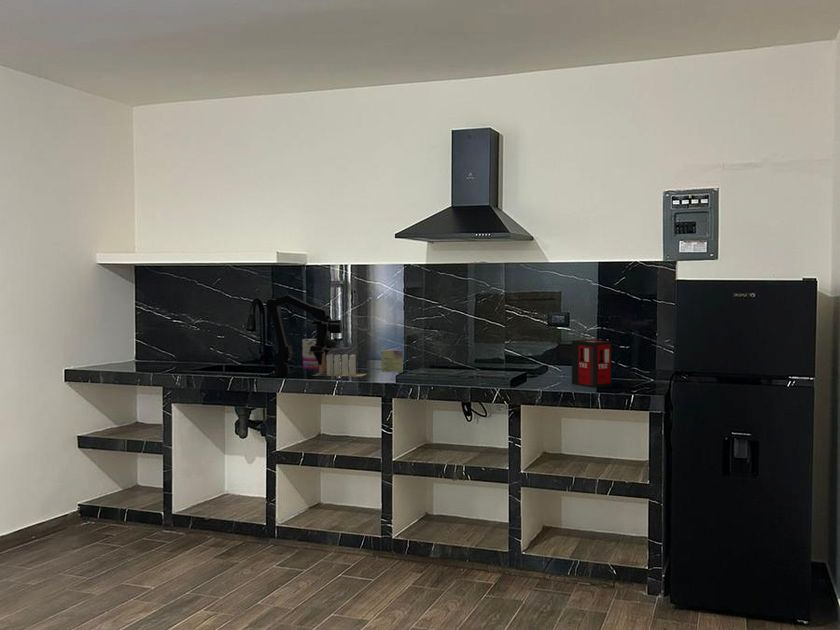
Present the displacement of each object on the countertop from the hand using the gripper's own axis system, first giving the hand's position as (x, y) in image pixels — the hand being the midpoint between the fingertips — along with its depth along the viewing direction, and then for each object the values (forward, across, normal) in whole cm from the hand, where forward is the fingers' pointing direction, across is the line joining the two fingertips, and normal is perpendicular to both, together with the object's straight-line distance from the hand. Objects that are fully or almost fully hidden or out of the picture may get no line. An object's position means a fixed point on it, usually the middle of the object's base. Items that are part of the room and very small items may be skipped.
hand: (322, 364), depth 414 cm
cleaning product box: (+6, -13, -133) cm, 134 cm away
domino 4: (+5, 0, -12) cm, 13 cm away
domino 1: (+4, 0, 0) cm, 4 cm away
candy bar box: (+6, +28, +15) cm, 32 cm away
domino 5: (+5, 0, -16) cm, 17 cm away
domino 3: (+5, 0, -8) cm, 10 cm away
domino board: (+6, 0, -9) cm, 11 cm away
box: (+6, +20, -31) cm, 38 cm away
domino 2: (+5, 0, -4) cm, 7 cm away
